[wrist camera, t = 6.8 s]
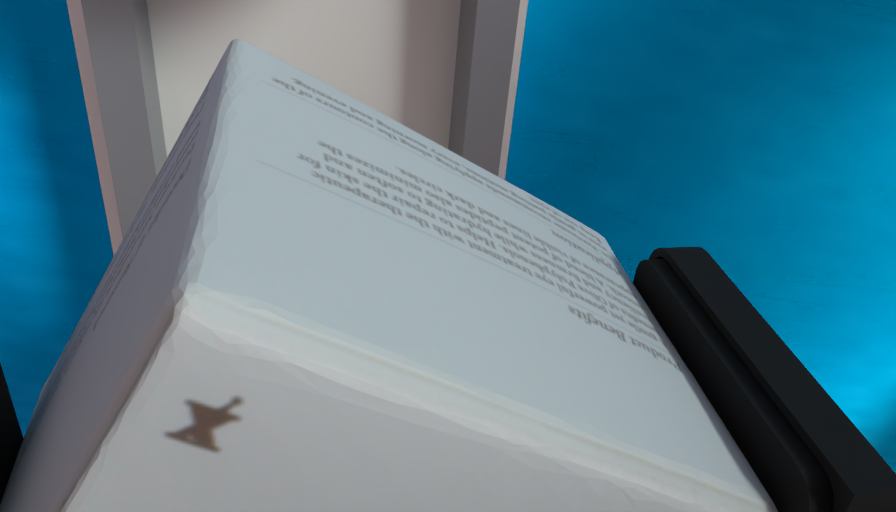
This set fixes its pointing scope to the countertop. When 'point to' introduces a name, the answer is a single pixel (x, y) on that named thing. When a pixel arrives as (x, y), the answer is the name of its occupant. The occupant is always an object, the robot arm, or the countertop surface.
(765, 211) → the countertop surface
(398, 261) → the small box
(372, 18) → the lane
